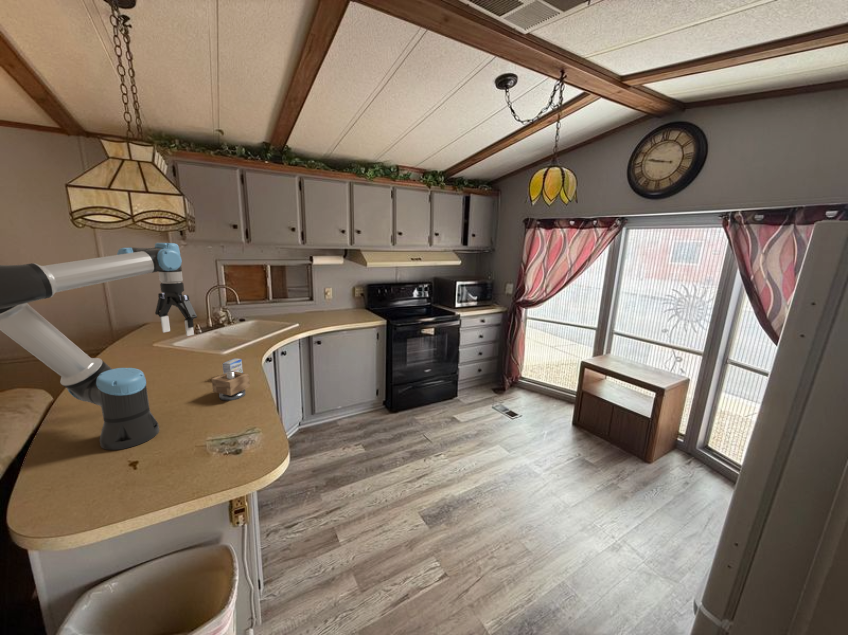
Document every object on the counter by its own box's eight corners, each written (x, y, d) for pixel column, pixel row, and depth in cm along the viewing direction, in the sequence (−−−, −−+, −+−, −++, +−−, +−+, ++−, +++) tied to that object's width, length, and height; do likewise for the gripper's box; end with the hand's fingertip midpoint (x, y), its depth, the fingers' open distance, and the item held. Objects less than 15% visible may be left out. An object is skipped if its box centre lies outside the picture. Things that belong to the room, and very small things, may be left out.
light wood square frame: (230, 395, 140) (229, 382, 138) (213, 391, 143) (211, 378, 141) (250, 386, 149) (249, 374, 148) (232, 383, 152) (231, 370, 151)
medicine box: (231, 380, 162) (230, 363, 160) (223, 379, 163) (222, 363, 161) (243, 374, 170) (241, 358, 168) (235, 374, 171) (234, 358, 169)
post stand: (231, 402, 140) (229, 377, 138) (213, 398, 143) (211, 374, 141) (250, 392, 149) (248, 369, 147) (233, 389, 152) (231, 366, 150)
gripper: (203, 283, 132) (209, 334, 137) (159, 279, 140) (166, 328, 144) (185, 285, 125) (191, 339, 130) (139, 281, 133) (147, 332, 137)
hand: (178, 333), depth 137 cm, fingers open, 13 cm apart
